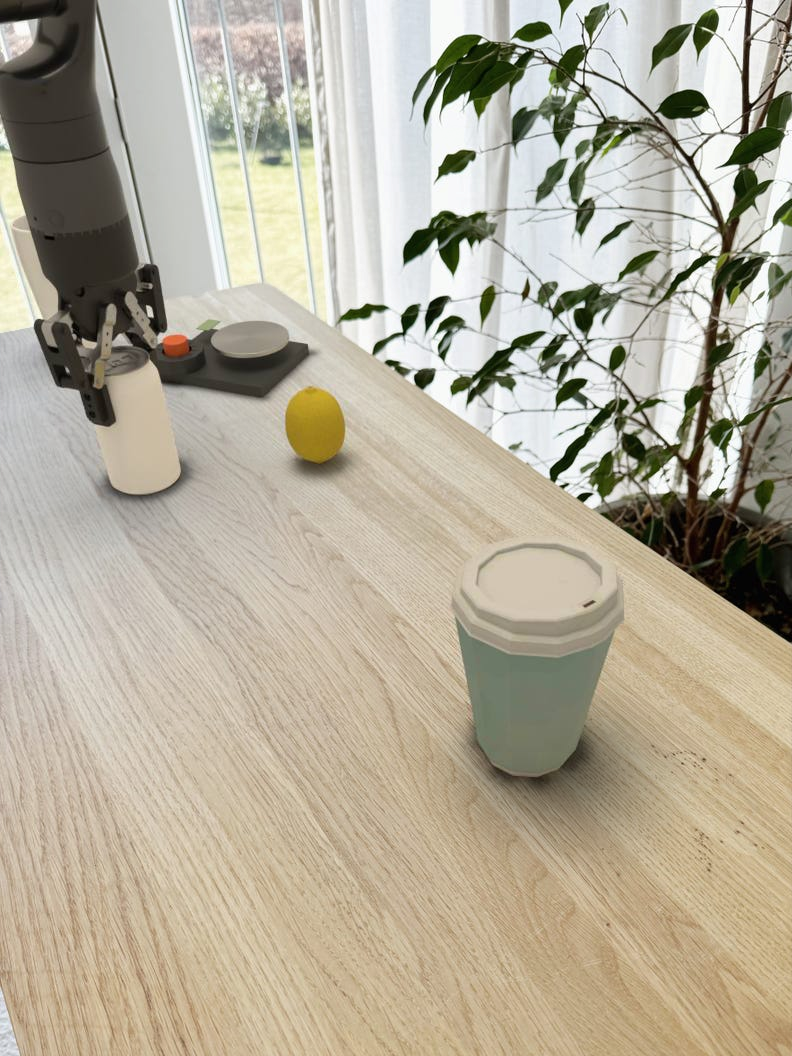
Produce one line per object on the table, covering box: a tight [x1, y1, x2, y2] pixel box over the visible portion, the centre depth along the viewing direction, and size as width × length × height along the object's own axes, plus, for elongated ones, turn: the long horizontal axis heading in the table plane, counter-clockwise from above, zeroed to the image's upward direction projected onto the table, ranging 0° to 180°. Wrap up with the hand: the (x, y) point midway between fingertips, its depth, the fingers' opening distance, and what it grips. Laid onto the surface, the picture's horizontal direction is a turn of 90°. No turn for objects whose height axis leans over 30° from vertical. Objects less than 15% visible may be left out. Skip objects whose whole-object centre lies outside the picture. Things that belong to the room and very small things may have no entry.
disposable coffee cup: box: [449, 534, 625, 778], centre depth 64 cm, size 11×11×15 cm
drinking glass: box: [9, 213, 97, 349], centre depth 109 cm, size 7×7×15 cm
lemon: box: [284, 385, 346, 465], centre depth 94 cm, size 6×6×8 cm
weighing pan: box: [195, 318, 290, 358], centre depth 110 cm, size 12×8×1 cm
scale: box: [155, 328, 310, 399], centre depth 111 cm, size 14×12×3 cm
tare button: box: [161, 333, 190, 357], centre depth 108 cm, size 3×3×2 cm
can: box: [85, 345, 182, 496], centre depth 90 cm, size 6×6×12 cm
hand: (127, 404), depth 89 cm, fingers closed on can, 6 cm apart
